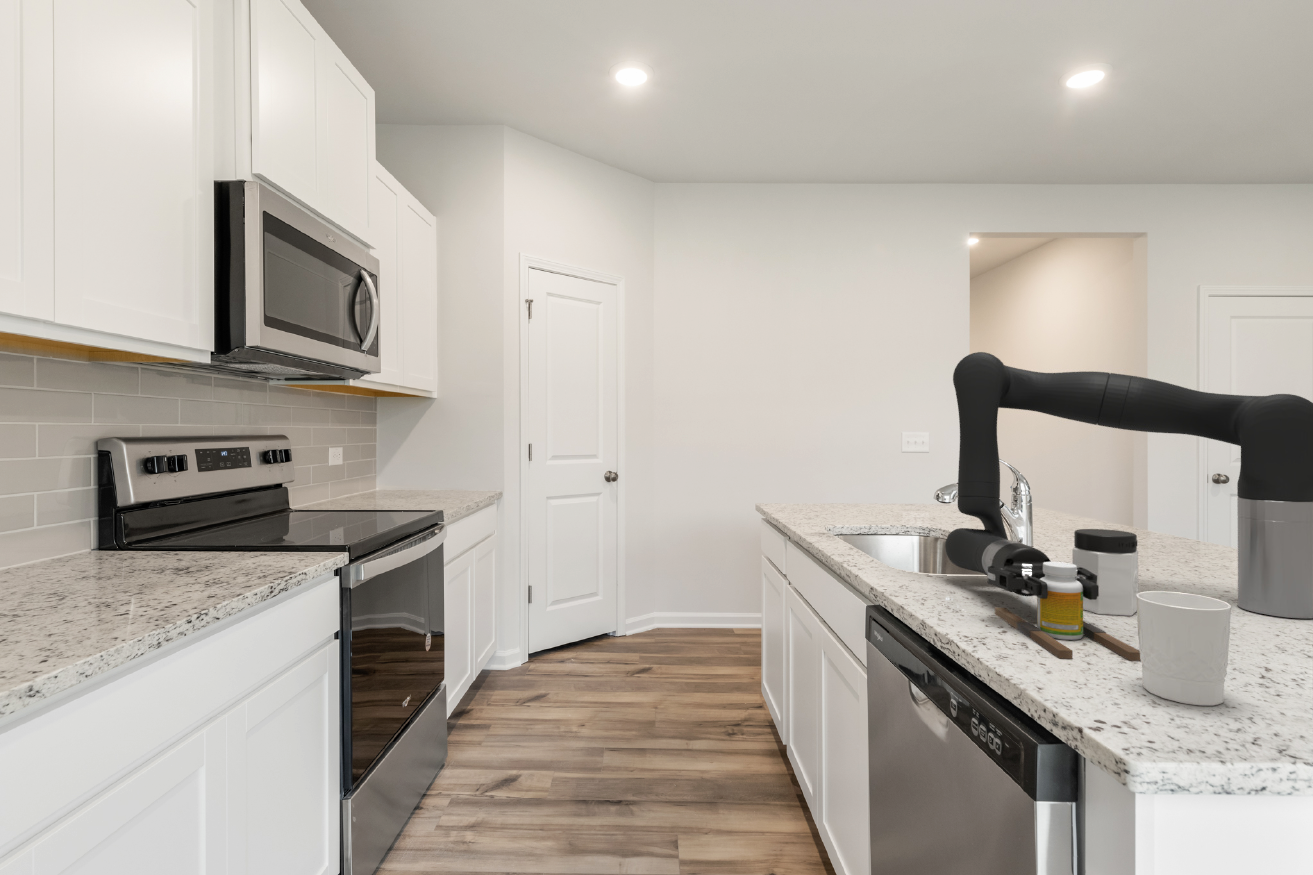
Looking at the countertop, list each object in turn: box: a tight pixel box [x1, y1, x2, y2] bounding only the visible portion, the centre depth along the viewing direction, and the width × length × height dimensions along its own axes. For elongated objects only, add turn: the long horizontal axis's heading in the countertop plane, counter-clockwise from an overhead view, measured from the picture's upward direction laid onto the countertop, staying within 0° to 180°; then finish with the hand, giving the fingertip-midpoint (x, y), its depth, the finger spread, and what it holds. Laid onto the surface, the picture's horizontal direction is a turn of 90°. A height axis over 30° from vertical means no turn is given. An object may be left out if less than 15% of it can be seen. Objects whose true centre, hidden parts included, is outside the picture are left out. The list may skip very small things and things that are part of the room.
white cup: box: [1136, 590, 1232, 707], centre depth 70 cm, size 8×8×10 cm
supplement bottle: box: [1036, 561, 1084, 641], centre depth 90 cm, size 5×5×10 cm
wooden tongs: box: [994, 607, 1141, 662], centre depth 90 cm, size 10×20×1 cm, turn 173°
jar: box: [1071, 528, 1139, 617], centre depth 103 cm, size 9×8×12 cm
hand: (1069, 591), depth 88 cm, fingers open, 5 cm apart
